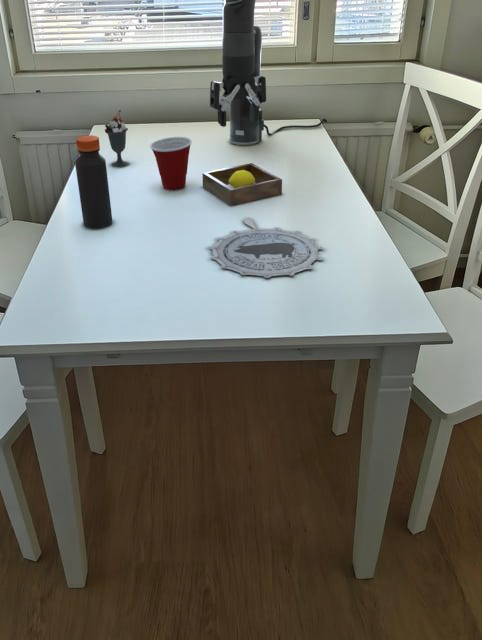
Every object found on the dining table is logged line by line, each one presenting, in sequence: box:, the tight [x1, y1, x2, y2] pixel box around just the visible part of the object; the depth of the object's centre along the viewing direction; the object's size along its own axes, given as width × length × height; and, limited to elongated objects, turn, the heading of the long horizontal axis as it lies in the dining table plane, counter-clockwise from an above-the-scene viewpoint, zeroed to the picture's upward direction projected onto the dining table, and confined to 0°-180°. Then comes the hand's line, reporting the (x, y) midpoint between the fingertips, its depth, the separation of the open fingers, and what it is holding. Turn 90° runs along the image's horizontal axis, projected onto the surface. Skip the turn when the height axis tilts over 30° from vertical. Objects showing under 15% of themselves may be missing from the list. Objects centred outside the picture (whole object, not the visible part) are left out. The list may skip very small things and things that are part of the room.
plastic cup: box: [149, 136, 193, 191], centre depth 165 cm, size 11×11×12 cm
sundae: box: [104, 110, 129, 168], centre depth 181 cm, size 7×7×15 cm
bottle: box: [74, 134, 113, 230], centre depth 144 cm, size 7×7×20 cm
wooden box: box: [202, 162, 283, 207], centre depth 164 cm, size 15×15×4 cm
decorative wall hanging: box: [209, 217, 325, 279], centre depth 137 cm, size 24×1×30 cm
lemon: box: [228, 170, 256, 188], centre depth 163 cm, size 7×5×5 cm
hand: (238, 123), depth 156 cm, fingers open, 8 cm apart
